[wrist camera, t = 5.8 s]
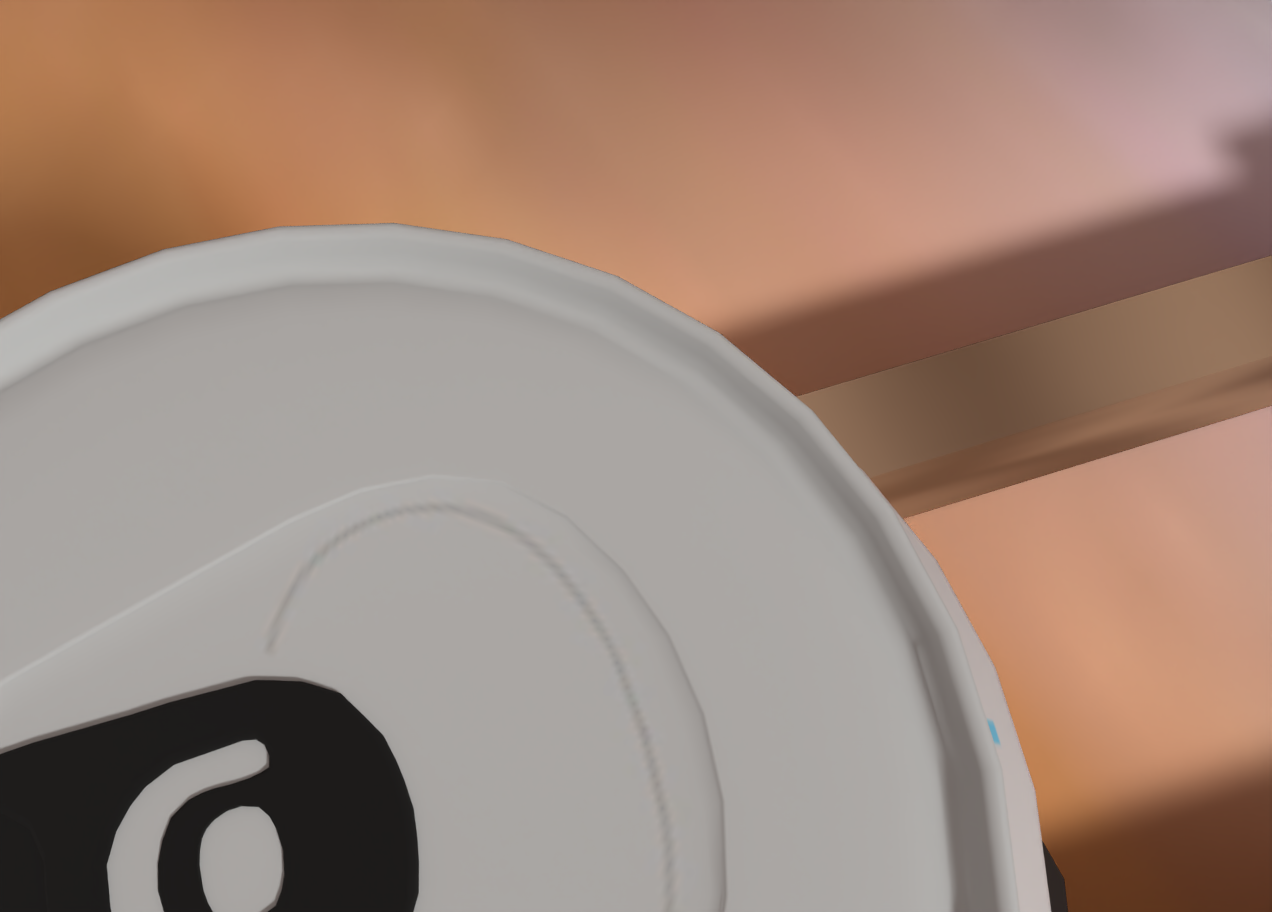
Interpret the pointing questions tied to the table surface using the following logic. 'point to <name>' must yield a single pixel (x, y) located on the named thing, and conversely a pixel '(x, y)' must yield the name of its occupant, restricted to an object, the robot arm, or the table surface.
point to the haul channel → (1059, 391)
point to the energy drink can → (464, 607)
